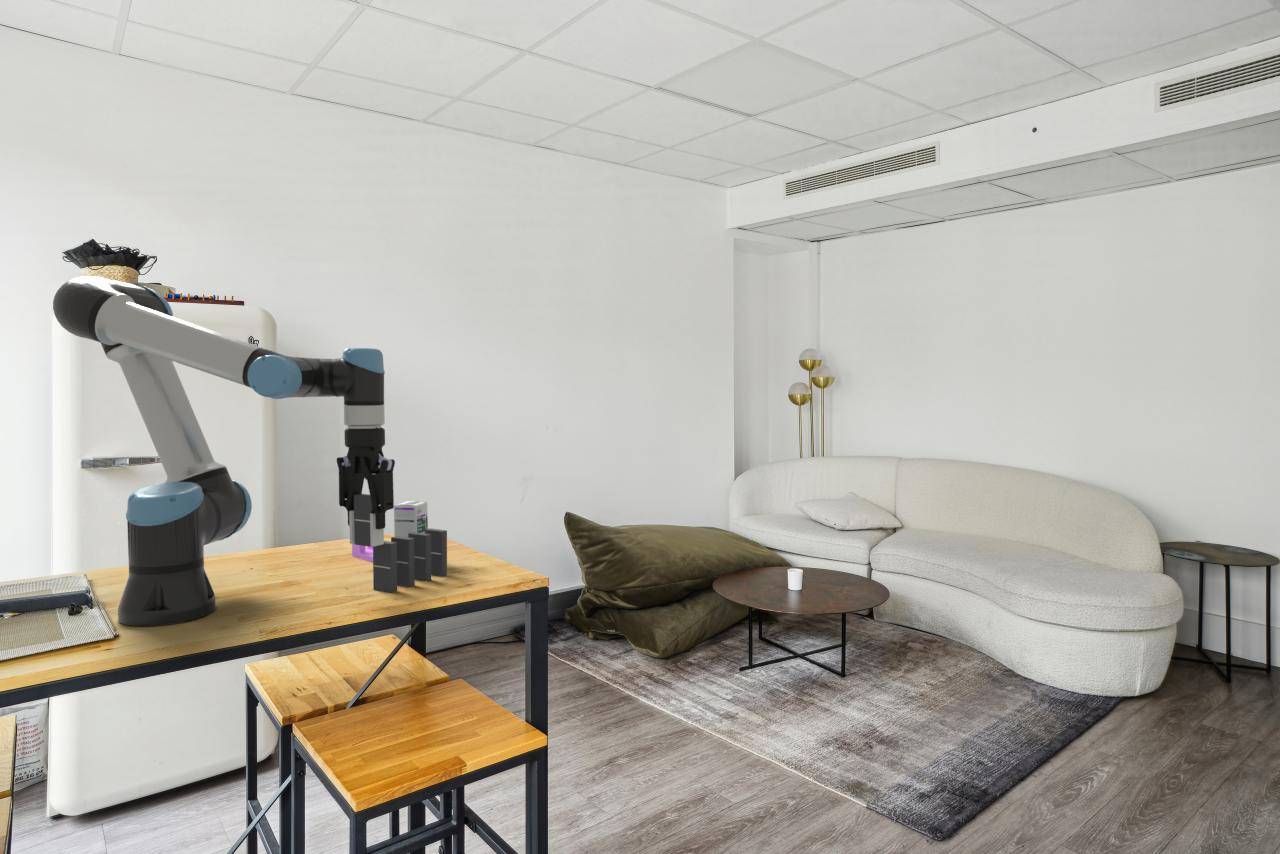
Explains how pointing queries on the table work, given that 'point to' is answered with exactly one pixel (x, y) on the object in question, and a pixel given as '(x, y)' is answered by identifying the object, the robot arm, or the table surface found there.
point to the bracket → (362, 552)
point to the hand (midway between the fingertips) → (366, 543)
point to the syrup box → (410, 518)
